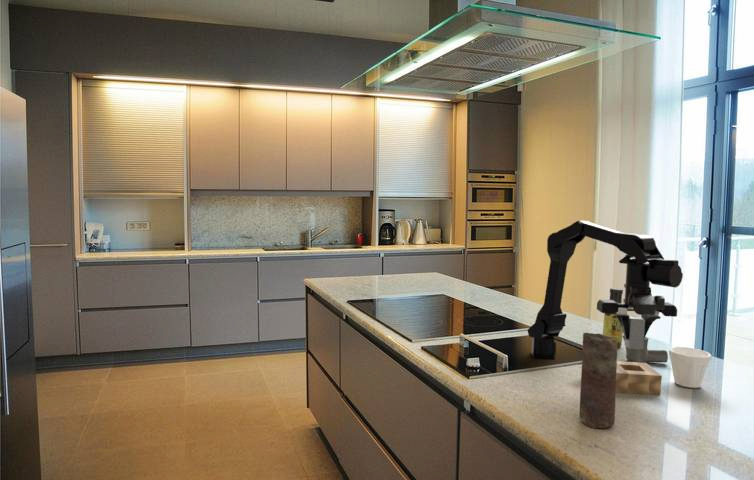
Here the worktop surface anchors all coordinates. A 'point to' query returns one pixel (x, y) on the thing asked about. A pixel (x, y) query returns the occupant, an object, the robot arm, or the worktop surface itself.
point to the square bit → (635, 333)
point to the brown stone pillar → (598, 380)
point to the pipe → (646, 354)
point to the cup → (689, 366)
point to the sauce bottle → (613, 318)
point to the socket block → (637, 378)
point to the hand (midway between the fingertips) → (634, 339)
